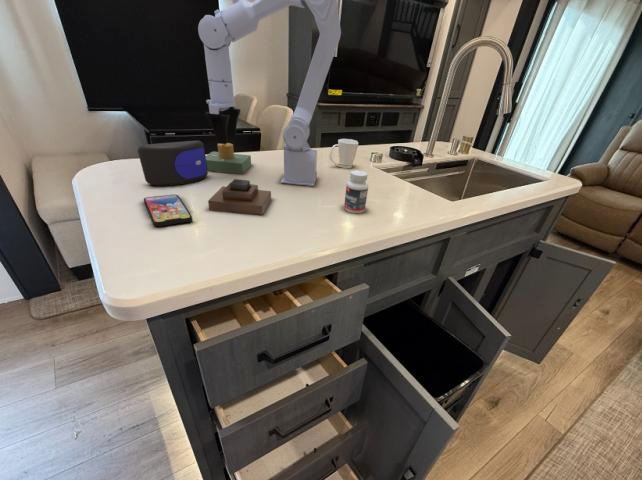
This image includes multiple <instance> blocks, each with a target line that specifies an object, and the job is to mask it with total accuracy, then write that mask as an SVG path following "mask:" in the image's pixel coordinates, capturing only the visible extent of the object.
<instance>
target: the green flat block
mask: <svg viewBox="0 0 642 480" xmlns="http://www.w3.org/2000/svg"><path fill="white" fill-rule="evenodd" d="M205 156H206V163H207V169H208V172H218V173H228V174H237V175H244V174H245V173H246V172H247V170H249V168H250V167H252V157H251V155H250V154H242V153H234V158H232V159H222V158H219V153H218V151H211V152H209V153H208V154H206V155H205Z"/></svg>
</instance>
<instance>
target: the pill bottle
mask: <svg viewBox="0 0 642 480" xmlns="http://www.w3.org/2000/svg"><path fill="white" fill-rule="evenodd" d="M367 180H368V172H366V171H363V170H352V171H350V173H349V180H348V181H347V182H346V185H345V186H346V187H345V194H344V195H345V196H344V205H343V209H344V210H345V211H346V212H348V213H351V214H361V213H364V212H365V210H366V206H367V205H366V204H367V198H368V194H369V193H368V191H369V184H368V183H367Z"/></svg>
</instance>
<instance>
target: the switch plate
mask: <svg viewBox="0 0 642 480" xmlns="http://www.w3.org/2000/svg"><path fill="white" fill-rule="evenodd" d="M271 201H272V191H271V190H263V189H259V185H258V184H252V183H250V189H249V190H248V191H247V192H244V191H233V190H231V189H230V183H228V184H227V186H221V187H220V188H219V189H218V190H217V191H216V192H215V193H214V194H213V195H212V196H211V197H210V198H209V199H208V200H207V202H208V209H209V211H214V212H215V211H216V212H226V213H233V214H234V213H235V214H245V215H255V216H256V215H257V216H263V215H264V213H265V212H266V210H267V208H268V207H269V205H270V203H271Z"/></svg>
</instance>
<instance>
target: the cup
mask: <svg viewBox="0 0 642 480" xmlns="http://www.w3.org/2000/svg"><path fill="white" fill-rule="evenodd" d="M358 146H359V142H358V140H355V139H352V138H340V139H338V140H337V144H334V145H332V147H331V148H330V151H329V159H330V161H331V162H332V163H333V164H334V165H335V166H336V167H338V168H343V169H351V168H353V164H354V161H355V158H356V155H357V150H358ZM336 147H337V148H338V158H339V159H338V160H339V164H337V163H336V162H334V160H333V158H332V155H333V151H334V149H335V148H336Z"/></svg>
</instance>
